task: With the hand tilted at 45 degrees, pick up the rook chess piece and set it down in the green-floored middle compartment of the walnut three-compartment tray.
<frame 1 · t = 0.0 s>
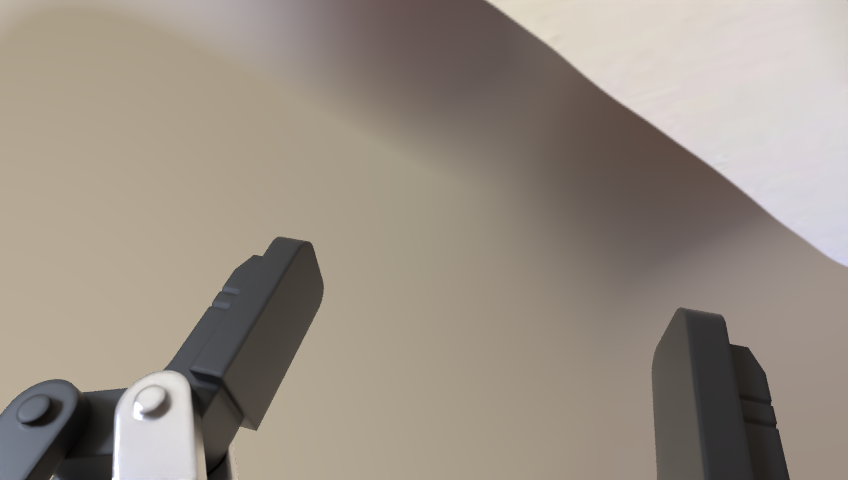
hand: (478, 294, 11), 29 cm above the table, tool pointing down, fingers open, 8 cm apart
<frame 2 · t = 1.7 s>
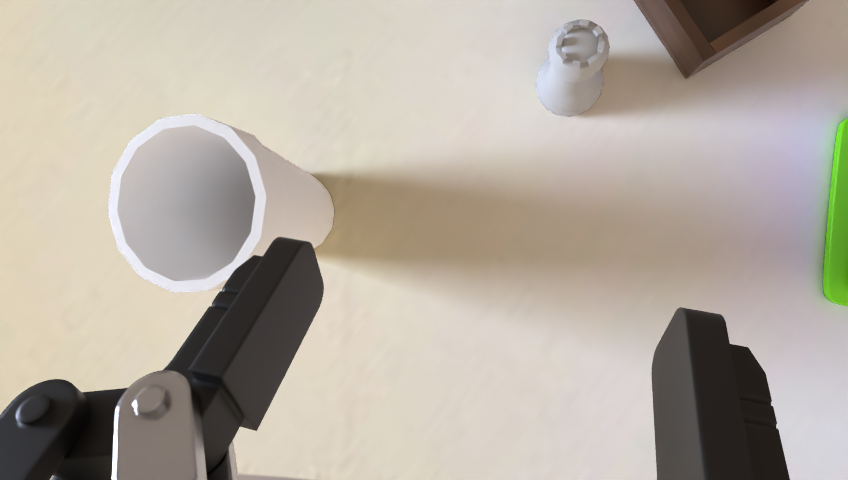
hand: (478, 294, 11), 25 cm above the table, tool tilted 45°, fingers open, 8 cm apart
foam cup: (297, 213, 39), on the table
rook chess piece: (568, 86, 35), on the table
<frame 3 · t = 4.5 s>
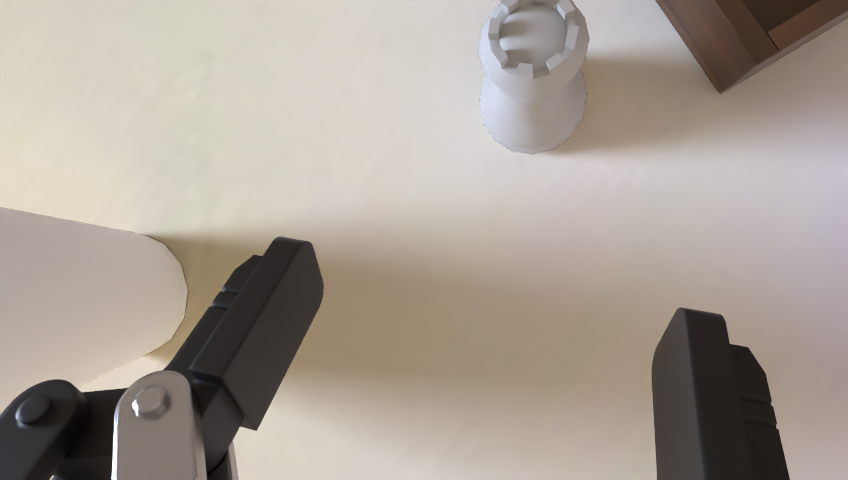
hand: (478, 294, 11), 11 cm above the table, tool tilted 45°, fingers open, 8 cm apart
foam cup: (137, 293, 26), on the table
rook chess piece: (531, 106, 22), on the table
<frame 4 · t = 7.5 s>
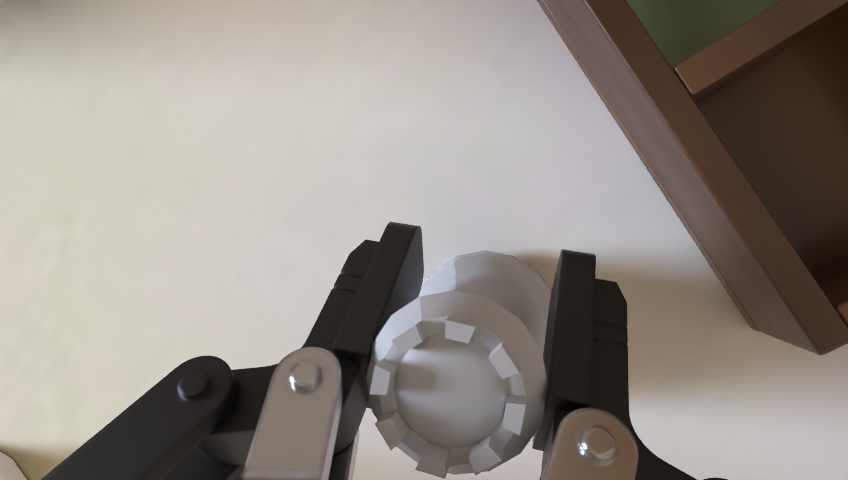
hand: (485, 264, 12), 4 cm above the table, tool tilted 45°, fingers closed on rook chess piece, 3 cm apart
rook chess piece: (487, 319, 16), on the table, touching gripper
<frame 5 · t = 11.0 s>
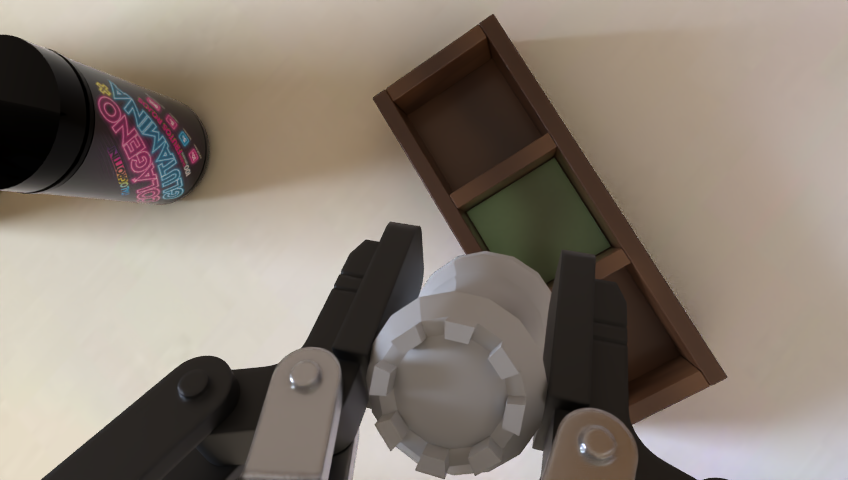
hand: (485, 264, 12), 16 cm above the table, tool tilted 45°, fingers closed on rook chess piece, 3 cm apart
compartment tray: (536, 228, 27), on the table
rook chess piece: (487, 320, 16), point 11 cm above the table, touching gripper
supplement container: (170, 153, 32), on the table
when the fingers open (5 cm above the table, at t = 14.7 s): rook chess piece stays where it is, resting on compartment tray.
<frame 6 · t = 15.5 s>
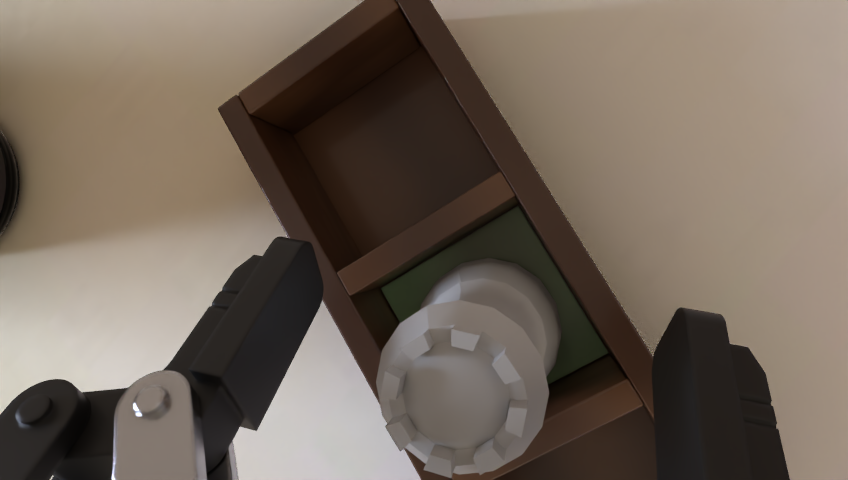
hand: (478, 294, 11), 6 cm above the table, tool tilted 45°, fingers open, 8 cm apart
compartment tray: (490, 316, 17), on the table
rook chess piece: (490, 324, 16), point 1 cm above the table, touching compartment tray
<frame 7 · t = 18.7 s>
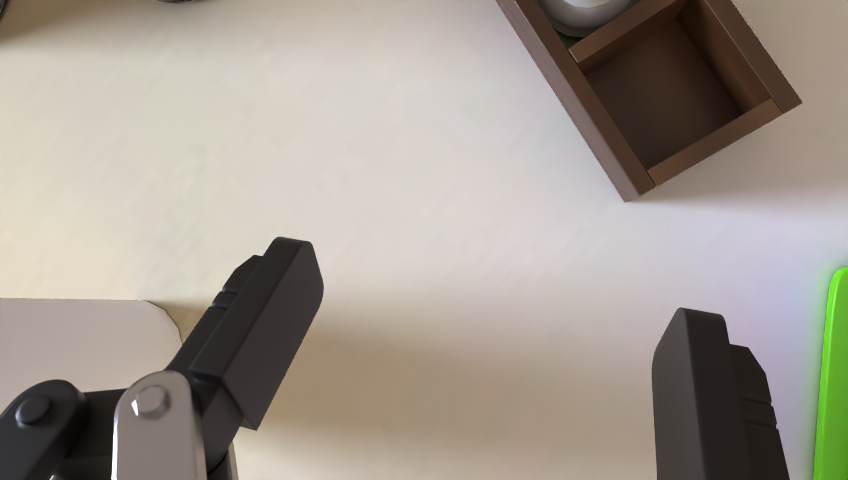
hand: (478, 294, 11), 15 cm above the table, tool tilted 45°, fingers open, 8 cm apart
foam cup: (140, 351, 31), on the table
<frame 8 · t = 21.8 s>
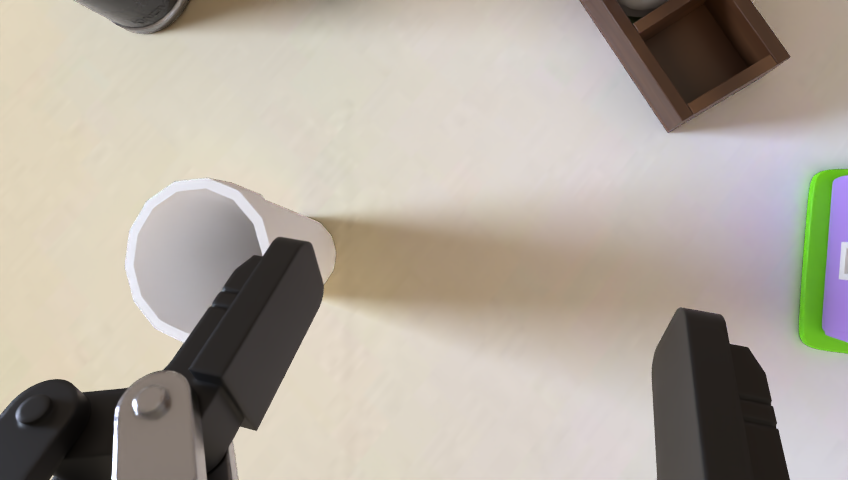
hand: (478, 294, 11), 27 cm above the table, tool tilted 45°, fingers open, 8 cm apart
foam cup: (301, 254, 41), on the table
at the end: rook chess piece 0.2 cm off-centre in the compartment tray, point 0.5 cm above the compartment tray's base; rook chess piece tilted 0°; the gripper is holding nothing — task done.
